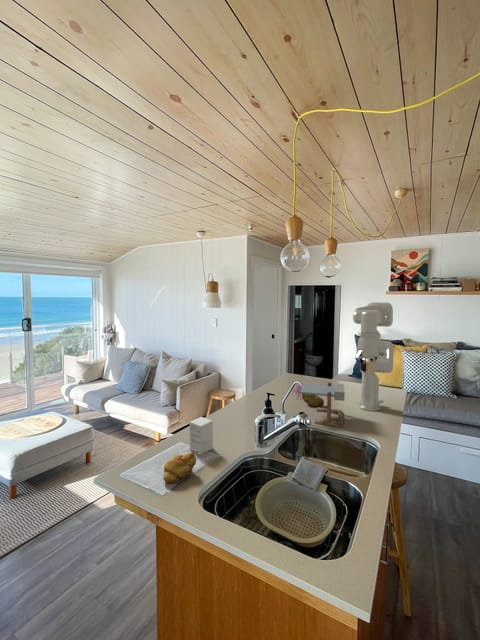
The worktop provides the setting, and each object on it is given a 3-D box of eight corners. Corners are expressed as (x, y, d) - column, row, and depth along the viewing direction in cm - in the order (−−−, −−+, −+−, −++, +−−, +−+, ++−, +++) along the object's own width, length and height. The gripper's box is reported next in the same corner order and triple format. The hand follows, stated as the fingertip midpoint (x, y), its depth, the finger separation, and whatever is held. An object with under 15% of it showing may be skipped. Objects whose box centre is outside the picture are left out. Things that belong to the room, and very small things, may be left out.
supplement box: (201, 443, 139) (201, 416, 138) (213, 448, 134) (213, 420, 133) (189, 449, 133) (188, 421, 132) (201, 455, 128) (200, 426, 128)
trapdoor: (343, 391, 174) (343, 384, 174) (344, 400, 159) (344, 392, 159) (302, 388, 181) (303, 381, 180) (300, 396, 165) (300, 388, 165)
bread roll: (171, 489, 106) (171, 467, 105) (154, 479, 112) (154, 457, 111) (199, 473, 115) (199, 452, 115) (182, 464, 122) (182, 444, 121)
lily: (288, 399, 203) (290, 389, 198) (294, 388, 212) (297, 378, 207) (305, 407, 199) (308, 397, 194) (311, 396, 208) (314, 385, 202)
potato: (319, 409, 182) (319, 396, 181) (299, 404, 190) (300, 391, 190) (325, 405, 188) (325, 393, 188) (306, 401, 196) (306, 388, 196)
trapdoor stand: (341, 411, 178) (342, 383, 177) (342, 426, 157) (343, 394, 156) (316, 409, 182) (317, 381, 181) (314, 423, 161) (315, 391, 160)
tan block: (367, 370, 161) (367, 359, 161) (374, 372, 157) (375, 361, 156) (359, 371, 159) (360, 360, 159) (367, 373, 155) (367, 361, 154)
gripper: (375, 333, 163) (374, 367, 165) (350, 335, 157) (349, 370, 158) (386, 335, 156) (385, 370, 158) (361, 337, 150) (359, 373, 151)
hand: (367, 370), depth 158 cm, fingers closed on tan block, 5 cm apart
